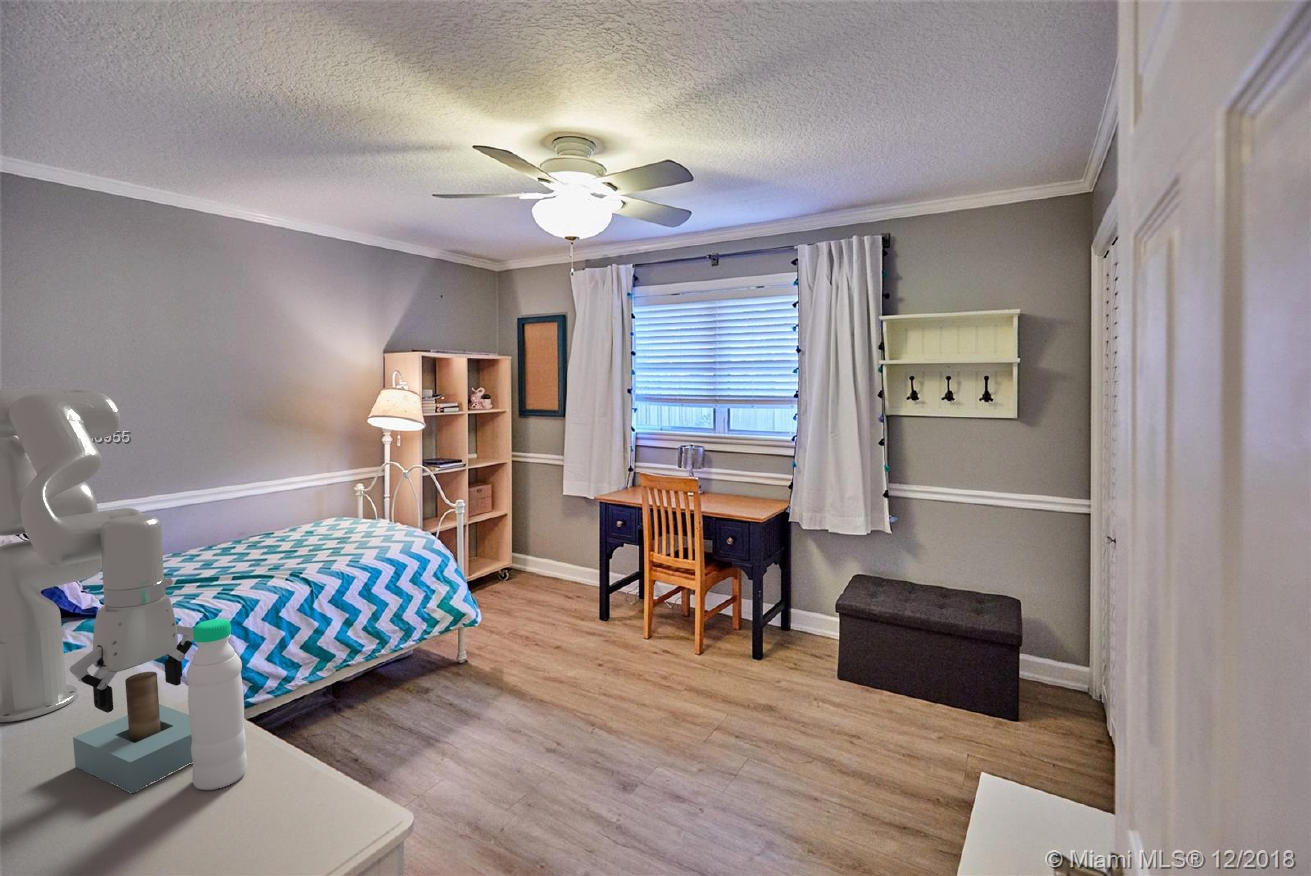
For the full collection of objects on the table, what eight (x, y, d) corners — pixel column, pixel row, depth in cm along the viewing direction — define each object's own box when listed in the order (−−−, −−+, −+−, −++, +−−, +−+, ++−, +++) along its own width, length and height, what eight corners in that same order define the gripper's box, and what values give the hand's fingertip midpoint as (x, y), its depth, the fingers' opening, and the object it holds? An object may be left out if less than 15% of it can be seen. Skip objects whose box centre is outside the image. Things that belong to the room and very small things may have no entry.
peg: (125, 763, 104) (119, 679, 103) (153, 750, 108) (148, 669, 107) (139, 769, 103) (134, 684, 101) (167, 756, 106) (162, 674, 105)
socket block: (75, 767, 103) (73, 737, 103) (158, 730, 114) (157, 703, 114) (132, 794, 97) (130, 762, 96) (215, 752, 107) (213, 723, 107)
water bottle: (220, 795, 96) (211, 633, 94) (181, 789, 98) (171, 629, 95) (258, 767, 103) (250, 616, 101) (221, 762, 105) (212, 612, 102)
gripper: (179, 575, 112) (184, 669, 114) (54, 607, 97) (61, 715, 98) (206, 582, 109) (210, 679, 111) (81, 615, 93) (88, 728, 95)
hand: (140, 696), depth 105 cm, fingers open, 9 cm apart
